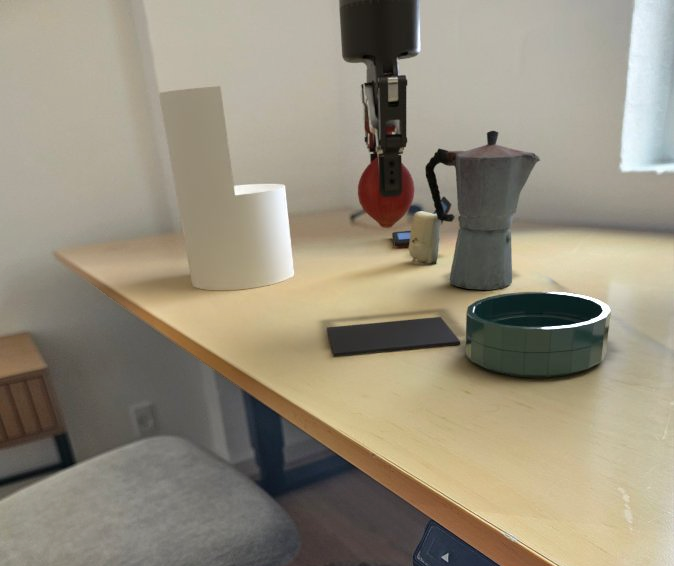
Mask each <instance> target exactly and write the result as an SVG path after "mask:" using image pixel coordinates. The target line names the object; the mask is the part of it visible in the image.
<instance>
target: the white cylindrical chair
mask: <svg viewBox="0 0 674 566" xmlns="http://www.w3.org/2000/svg"><path fill="white" fill-rule="evenodd" d="M158 97H159V103H160V108H161V114H162V115H161V116H162V120H163V126H164V131H165V138H166V144H167V149H168V155H169V160H170V167H171V171H172V177H173V178H172V179H173V183H174V189H175V194H176V200H177V207H178V211H179V212H178V213H179V218H180V224H181V229H182V235H183V242H184V247H185V252H186V258H187V265H188V270H189V276H190V281H191V285H192V286H193V287H194V288H197V289H199V290H206V291H239V290H249V289H256V288H263V287H266V286H271V285H275V284H279V283H282V282H284V281H287V280H289V279H291V278H292V277H293V276H295V270H294V259H293V250H292V240H291V230H290V220H289V210H288V201H287V191H286V190H287V189H286V184H282V183H250V184H236V185H235V184H234V176H233V169H232V162H231V161H232V160H231V154H230V146H229V140H228V132H227V123H226V117H225V110H224V104H223V96H222V88H221V85H219V86H217V85H216V86H206V87H194V88H184V89H176V90H169V91H162V92H158Z"/></svg>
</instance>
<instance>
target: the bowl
mask: <svg viewBox="0 0 674 566" xmlns="http://www.w3.org/2000/svg"><path fill="white" fill-rule="evenodd" d="M611 313H612V311H611V308H610V306H609V305H608V304H606V303H604V302H603V301H601V300H599V299H596V298H593V297H590V296H586V295H581V294H574V293H568V292H560V291H559V292H557V291H519V292H510V293H502V294H497V295H490V296H486V297H484V298H481V299H478V300H476V301H474V302H472V303H471V304H470V305H468V306H467V309H466V316H465V320H466V321H465V355H466V357H467V358H468V359H469V360H470V361H471V362H472V363H474V364H475V365H478V366H480V367H482V368H484V369H485V370H488V371H491V372H494V373H497V374H500V375H505V376H511V377H518V378H530V379H534V378H536V379H543V378H544V379H545V378H557V377H565V376H570V375H574V374H578V373H580V372H583V371H585V370H589V369H590V368H593V367H594V366H596V365H598V364H600V363H602V361H603V360H604V358H605V357H606V355H607V347H608V338H609V330H610V321H611Z"/></svg>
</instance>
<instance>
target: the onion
mask: <svg viewBox="0 0 674 566" xmlns="http://www.w3.org/2000/svg"><path fill="white" fill-rule="evenodd" d="M378 157H380V156H378V155H377V158H376V159H375V160H373V161H372V162H371V163H369V164H368V165H367V166H366V168H365V169H364V170H363V172H362V174H361V175H360V178H359V181H358V185H357V197H358V201H359V205H360V207H361V208H362V210H363V211H364V212H365V213H366V214H367V215H368V216H369V217H370V218H371V219H373V220H374V221H376V222H377V224H378V225H379V226H380V227H381V228H383V229H390V228H392V227H393V226H394V225H396V223H397V222H399V221H400V220H401V219H402V218H403V217H404V216H405V215H406V214H407V213H408V211H409V210H410V208H411V206H412V203H413V201H414V196H415V182H414V180H413V177H412V174H411V172H410V170H409V169H408V168H407V167H406V166H405V165H404V163H403V162H402V193H401V194H400V195H399V196H391V197H383V196H382V195H381V194H380V192H379V169H378Z"/></svg>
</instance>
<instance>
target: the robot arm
mask: <svg viewBox="0 0 674 566" xmlns="http://www.w3.org/2000/svg"><path fill="white" fill-rule="evenodd" d="M338 7H339V9H338V10H339V25H340V26H339V27H340V44H341V57H342V59H343V60H344V62H346V63H348V64H349V63H351V64H361V63H362V64H364V65H365V66H366V82H363V83H360V100H361V104H362V126H363V129H364V143H365V146H366V149H367V151H368V153H369V162H370V163H371V162H372V161H373V160H375V159H376V158H377V155H378V156H380V157H378V169H379V192H380V194H381V195H382V196H383V197H391V196H399V195H400V194H401V193H402V163H403V162H402V155H403V154H404V150H405V148H406V147H407V144H408V137H407V86H408V79H407V76H406V75H405V74H401V75H400V70H399V69H400V68H399V62H398V61H399V60H404V59H405V60H406V59H411V58H415V57H417V56H418V55H419V54H420V52H421V0H338ZM370 163H369V164H370Z"/></svg>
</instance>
